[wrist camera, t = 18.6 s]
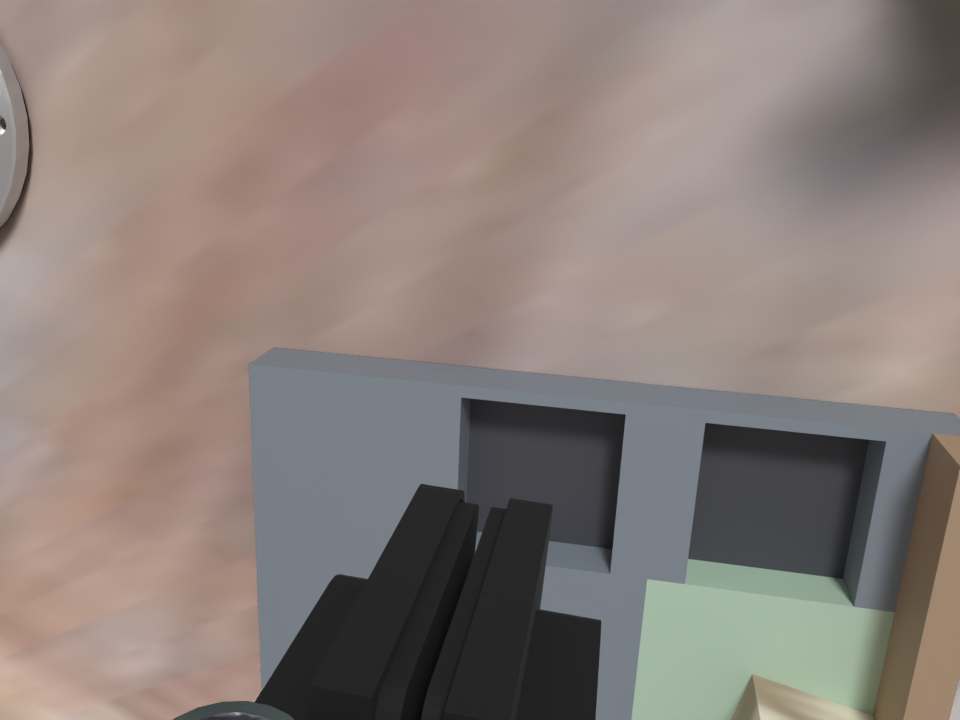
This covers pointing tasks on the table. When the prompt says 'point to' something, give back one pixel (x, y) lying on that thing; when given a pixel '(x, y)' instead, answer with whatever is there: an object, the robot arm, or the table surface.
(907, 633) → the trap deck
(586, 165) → the table surface
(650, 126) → the table surface
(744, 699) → the block
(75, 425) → the table surface
